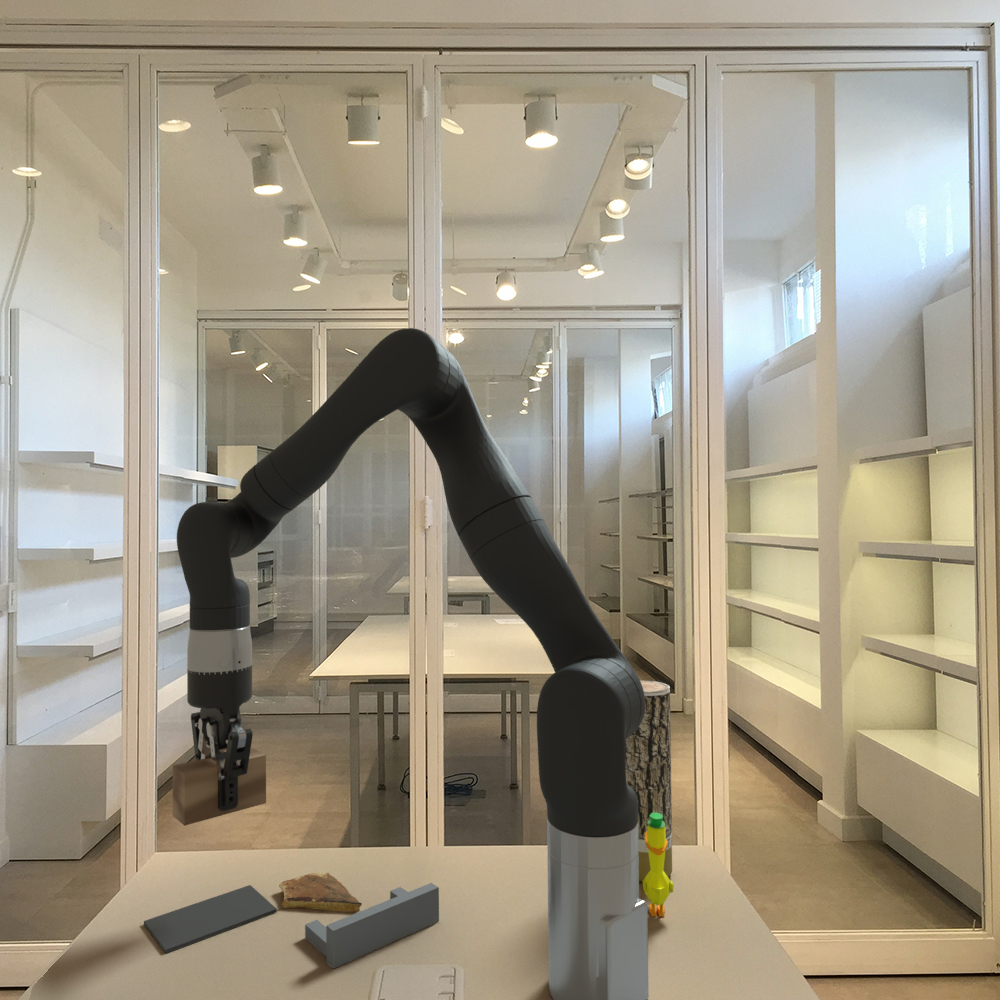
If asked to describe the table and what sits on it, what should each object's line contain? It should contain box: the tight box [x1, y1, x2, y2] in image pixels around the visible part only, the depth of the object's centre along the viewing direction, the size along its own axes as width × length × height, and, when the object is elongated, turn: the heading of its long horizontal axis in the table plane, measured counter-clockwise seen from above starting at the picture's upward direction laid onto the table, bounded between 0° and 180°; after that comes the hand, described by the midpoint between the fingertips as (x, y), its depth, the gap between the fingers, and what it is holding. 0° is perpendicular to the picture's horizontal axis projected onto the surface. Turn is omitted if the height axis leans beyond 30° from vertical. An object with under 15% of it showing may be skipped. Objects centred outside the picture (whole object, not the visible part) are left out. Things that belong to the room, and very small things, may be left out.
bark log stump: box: [625, 680, 673, 883], centre depth 101 cm, size 7×7×25 cm
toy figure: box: [642, 812, 674, 918], centre depth 91 cm, size 7×4×12 cm, turn 175°
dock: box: [304, 882, 440, 969], centre depth 88 cm, size 8×14×4 cm, turn 131°
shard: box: [278, 872, 363, 912], centre depth 94 cm, size 11×8×2 cm
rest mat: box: [143, 884, 278, 954], centre depth 90 cm, size 8×13×1 cm, turn 131°
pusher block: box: [172, 747, 267, 826], centre depth 92 cm, size 4×10×6 cm, turn 132°
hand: (220, 802), depth 92 cm, fingers closed on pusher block, 4 cm apart
